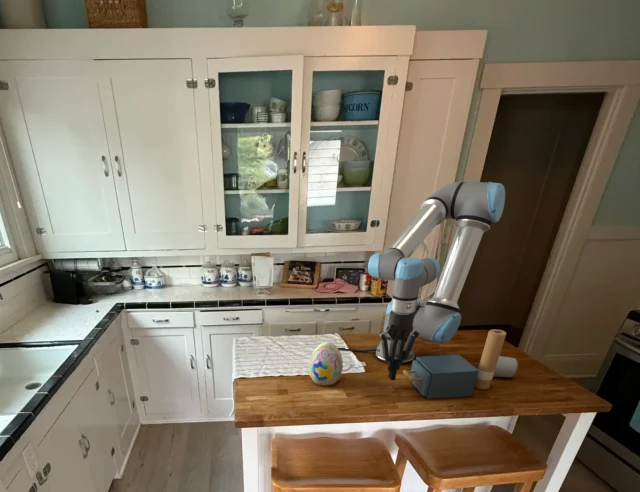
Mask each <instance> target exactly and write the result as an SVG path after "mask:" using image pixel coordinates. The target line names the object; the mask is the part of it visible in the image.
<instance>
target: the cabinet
mask: <svg viewBox="0 0 640 492" xmlns="http://www.w3.org/2000/svg"><path fill="white" fill-rule="evenodd" d="M415 360H417V361H418V362H419V363H421V364H422V365H423V366H424V367H425V368H426V369H427V370H428V371H429V372H430V373H431V374H432V376H431V381H430V385H429V389H428V392H427V396H424V397H425V398H426V399H427V400H434V399H448V398H463V397H465V398H466V397H472V396H473V394H474V393H473V392H474V389H475V382H476V379H477V376H478V372H479V371H478V368H476V367H475V366H474V365H473V364H472V363H470V362H469V361H467V360H466V359H465V358H464V357H462V355H461V354H444V355H443V354H441V355H429V356H427V355H425V356H416V359H415Z"/></svg>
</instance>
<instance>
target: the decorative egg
mask: <svg viewBox="0 0 640 492" xmlns="http://www.w3.org/2000/svg"><path fill="white" fill-rule="evenodd" d="M337 347H338V346H336V345H335V344H334V343H332V342H331V341H324V342H322V343H321V344H319V345H318V346H316V347H315V349H313V352H312V353H311V355H310V358H309V362H308V372H309V377H310V378H311V380H312V381H313V382H314V383H315V384H316V385H319V386H323V387H324V386H325V387H326V386H332V385H334V384H336V383H337V382H338V381H339V380H340V378H341V376H342V374H343V370H344V361H343V357H342V354H341V350H339V349H338V348H337Z"/></svg>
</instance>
